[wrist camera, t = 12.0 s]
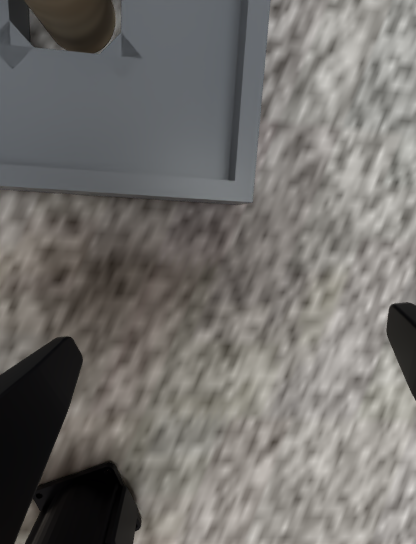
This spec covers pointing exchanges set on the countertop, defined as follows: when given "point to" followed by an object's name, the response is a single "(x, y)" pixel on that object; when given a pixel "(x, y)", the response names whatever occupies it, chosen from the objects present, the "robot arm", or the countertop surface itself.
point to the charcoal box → (138, 104)
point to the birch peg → (76, 22)
